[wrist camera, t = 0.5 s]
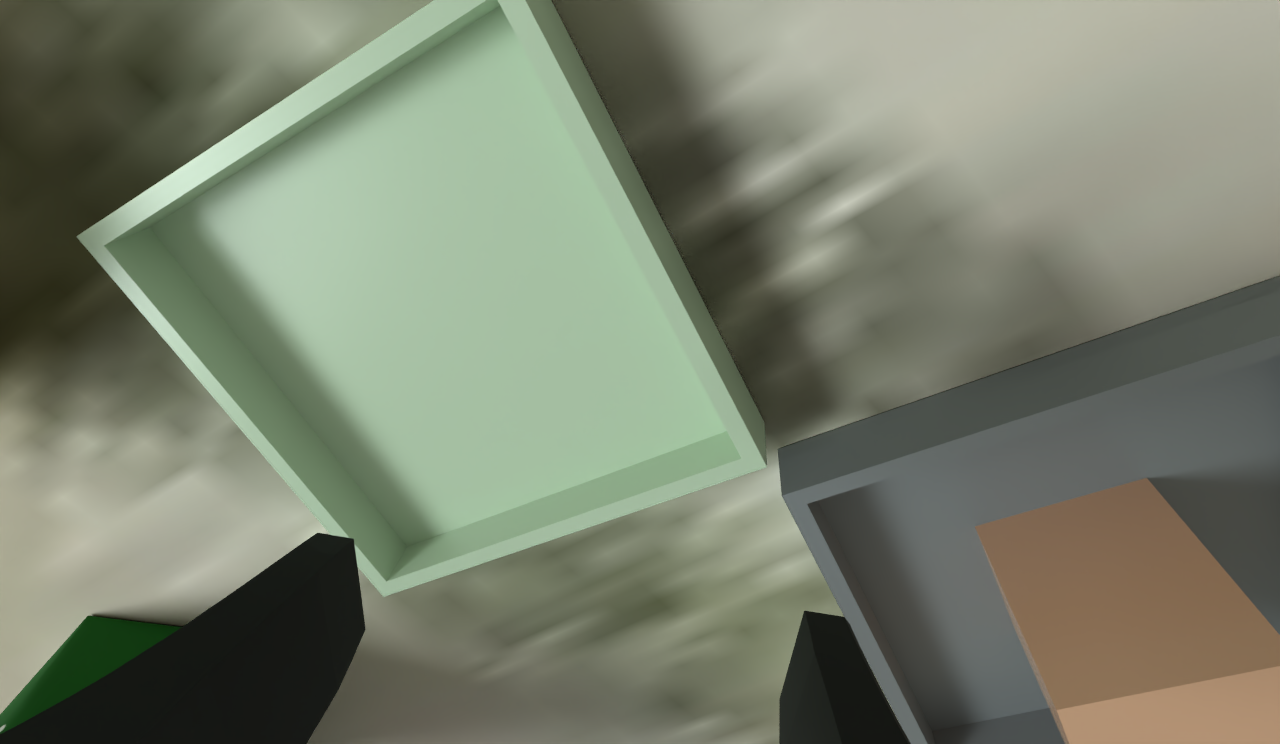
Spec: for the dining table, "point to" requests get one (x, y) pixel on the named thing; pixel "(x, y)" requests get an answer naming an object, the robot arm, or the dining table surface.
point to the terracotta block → (1135, 623)
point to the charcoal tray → (1038, 498)
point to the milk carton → (83, 663)
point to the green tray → (442, 299)
